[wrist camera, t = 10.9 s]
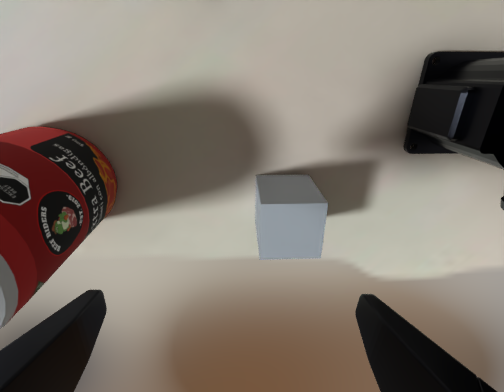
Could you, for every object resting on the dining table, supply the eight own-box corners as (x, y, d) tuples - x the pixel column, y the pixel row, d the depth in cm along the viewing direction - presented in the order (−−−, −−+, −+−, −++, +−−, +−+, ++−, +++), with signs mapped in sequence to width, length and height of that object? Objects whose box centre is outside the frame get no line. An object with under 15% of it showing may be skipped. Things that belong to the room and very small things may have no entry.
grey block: (308, 174, 20) (328, 203, 16) (303, 220, 22) (320, 258, 17) (255, 174, 20) (260, 204, 16) (255, 220, 22) (259, 259, 17)
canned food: (130, 221, 21) (35, 351, 11) (27, 224, 21) (-166, 362, 11) (107, 122, 18) (-55, 182, 8) (-15, 124, 18) (-341, 191, 8)
